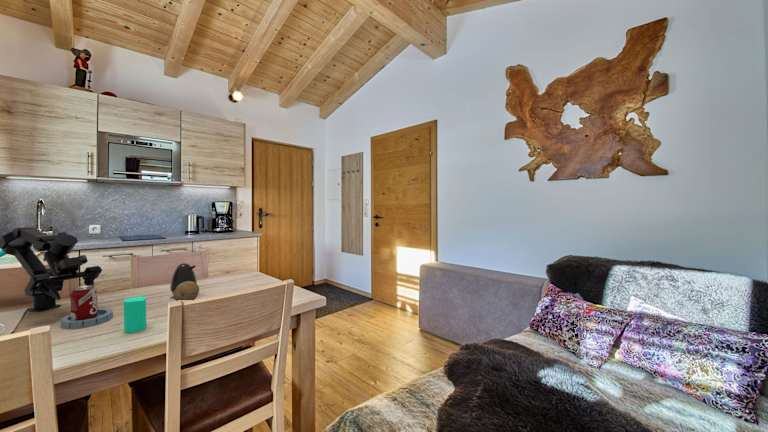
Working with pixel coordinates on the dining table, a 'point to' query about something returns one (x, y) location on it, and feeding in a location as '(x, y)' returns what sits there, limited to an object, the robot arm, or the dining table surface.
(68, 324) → the dish
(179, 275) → the dark rounded figure
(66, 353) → the dining table surface
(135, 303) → the candle
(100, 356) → the dining table surface
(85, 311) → the soda can
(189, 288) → the natural sponge
